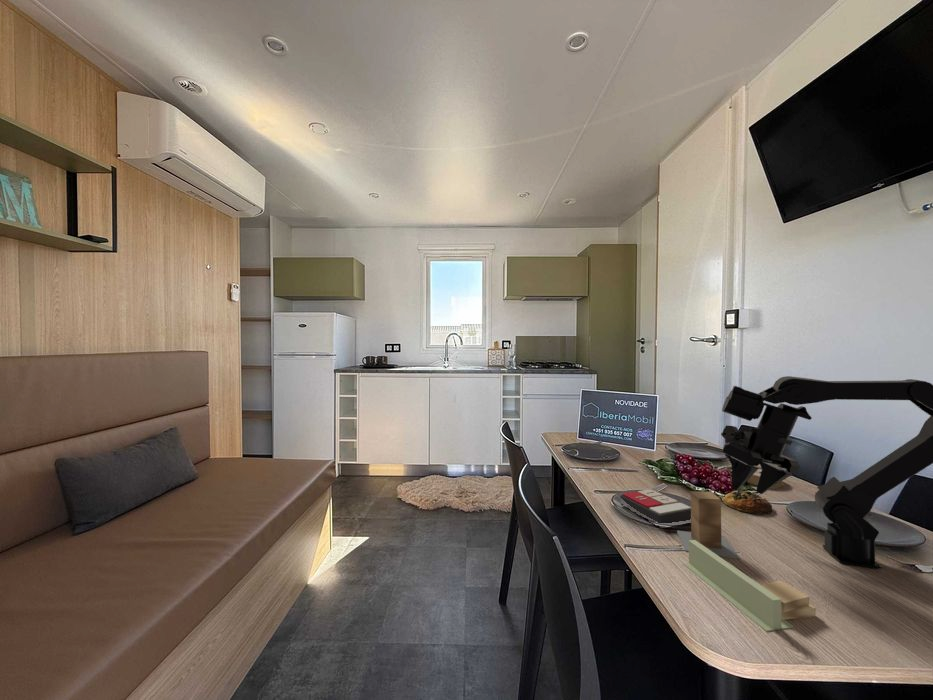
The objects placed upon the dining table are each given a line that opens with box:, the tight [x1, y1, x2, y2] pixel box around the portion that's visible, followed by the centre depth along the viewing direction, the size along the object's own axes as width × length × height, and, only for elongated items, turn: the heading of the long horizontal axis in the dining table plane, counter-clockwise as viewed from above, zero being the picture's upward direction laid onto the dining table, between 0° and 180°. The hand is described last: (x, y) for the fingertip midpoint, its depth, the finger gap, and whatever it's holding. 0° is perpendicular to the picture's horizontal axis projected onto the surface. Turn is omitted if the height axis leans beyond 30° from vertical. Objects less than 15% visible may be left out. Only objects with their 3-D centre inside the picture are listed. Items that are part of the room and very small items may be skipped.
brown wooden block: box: [690, 490, 722, 549], centre depth 83 cm, size 4×4×11 cm
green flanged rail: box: [683, 540, 794, 632], centre depth 67 cm, size 5×18×5 cm, turn 8°
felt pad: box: [676, 529, 741, 560], centre depth 83 cm, size 10×9×1 cm
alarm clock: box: [724, 466, 786, 489], centre depth 120 cm, size 11×5×15 cm
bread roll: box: [721, 489, 773, 515], centre depth 102 cm, size 11×11×5 cm
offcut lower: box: [781, 603, 817, 621], centre depth 63 cm, size 7×5×2 cm
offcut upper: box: [760, 580, 810, 612], centre depth 62 cm, size 6×4×2 cm
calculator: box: [619, 489, 691, 530], centre depth 99 cm, size 11×4×15 cm
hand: (746, 491), depth 84 cm, fingers open, 9 cm apart
